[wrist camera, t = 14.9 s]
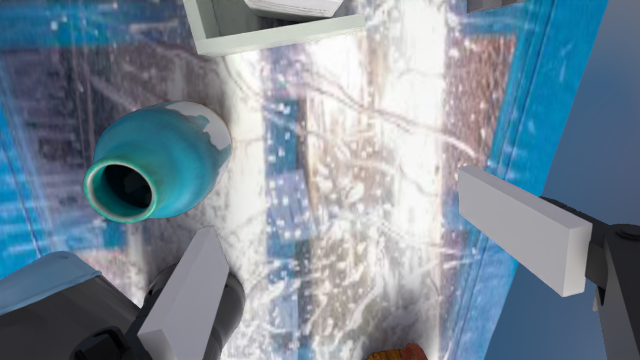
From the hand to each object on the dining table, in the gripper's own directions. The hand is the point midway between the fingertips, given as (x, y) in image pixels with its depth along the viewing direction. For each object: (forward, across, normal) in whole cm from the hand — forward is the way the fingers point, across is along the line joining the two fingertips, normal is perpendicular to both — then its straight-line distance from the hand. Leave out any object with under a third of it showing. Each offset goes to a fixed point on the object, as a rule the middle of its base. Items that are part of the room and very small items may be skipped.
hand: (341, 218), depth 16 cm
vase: (+27, -14, +2) cm, 31 cm away
